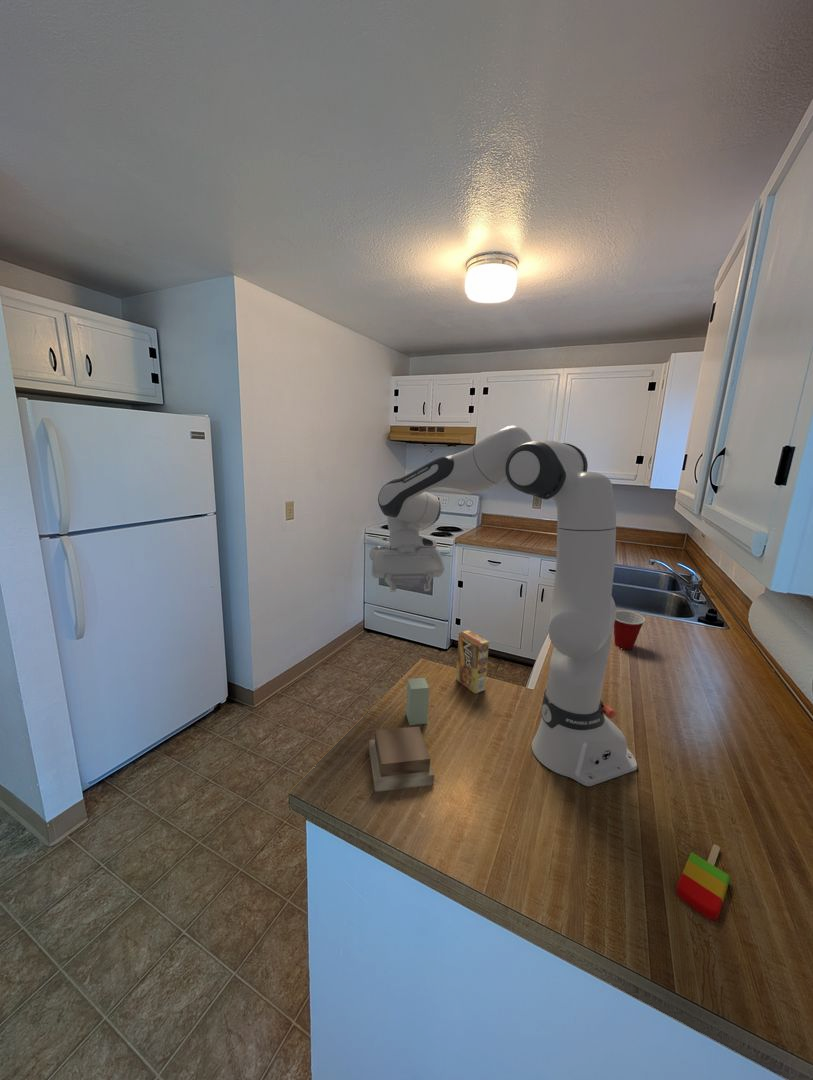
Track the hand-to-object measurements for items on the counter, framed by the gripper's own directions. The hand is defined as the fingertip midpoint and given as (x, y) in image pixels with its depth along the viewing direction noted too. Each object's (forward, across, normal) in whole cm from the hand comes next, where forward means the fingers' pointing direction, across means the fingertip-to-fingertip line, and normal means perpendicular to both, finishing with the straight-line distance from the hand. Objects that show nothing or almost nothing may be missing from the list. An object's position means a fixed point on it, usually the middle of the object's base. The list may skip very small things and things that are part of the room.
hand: (410, 590), depth 110 cm
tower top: (+39, -7, -1) cm, 40 cm away
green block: (+30, 0, +11) cm, 32 cm away
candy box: (+22, +19, +20) cm, 35 cm away
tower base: (+41, -7, +1) cm, 42 cm away
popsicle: (+63, +39, -21) cm, 77 cm away
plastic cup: (+10, +84, +32) cm, 91 cm away
